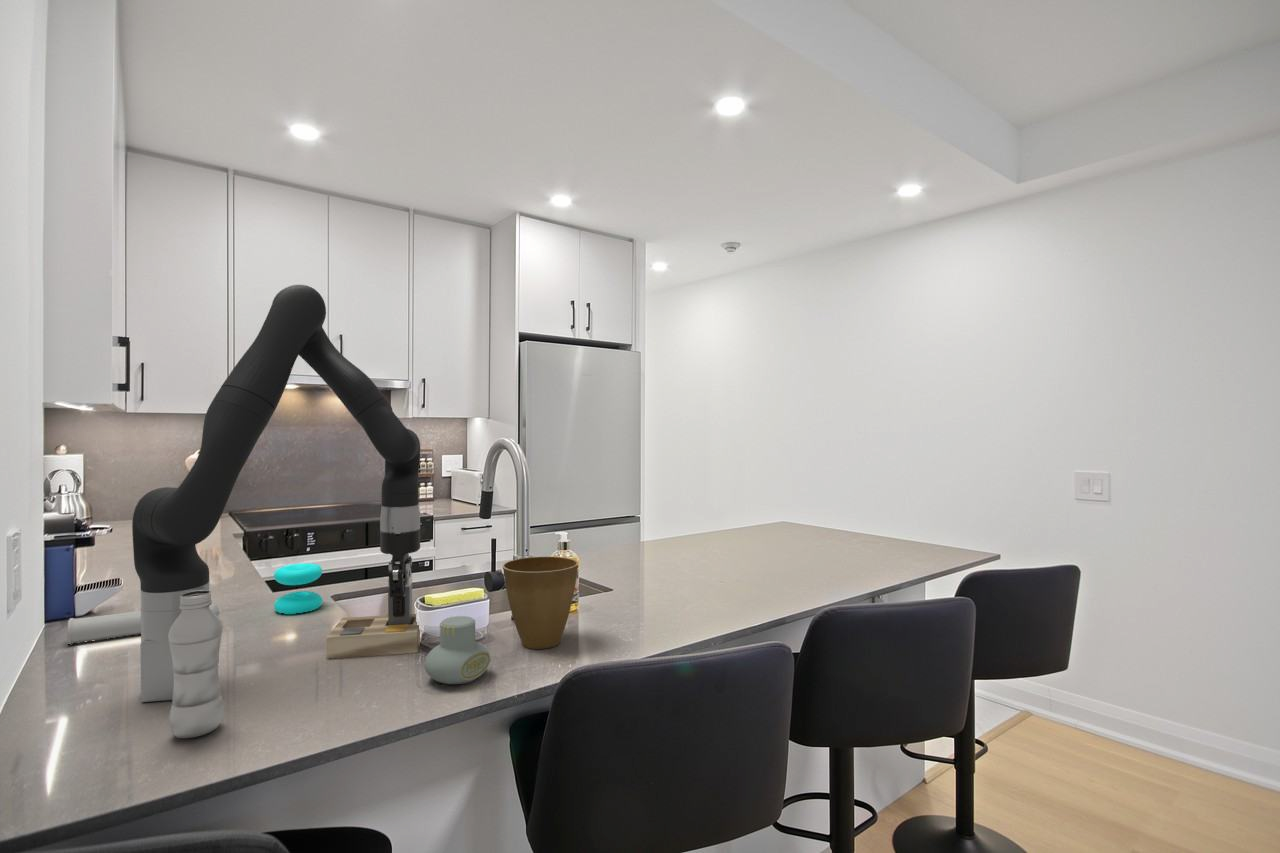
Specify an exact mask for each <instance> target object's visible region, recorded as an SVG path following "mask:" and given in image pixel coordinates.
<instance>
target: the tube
mask: <svg viewBox="0 0 1280 853" xmlns="http://www.w3.org/2000/svg"><path fill="white" fill-rule="evenodd" d="M210 609H211V610H212V611H213V612H214V613H215V614H216V615H217V617H218V618H219V615H220V610H219V607H218V604H217V603H213V602H212V604H211V605H210ZM138 634H141V610H138V611H128V612H123V613H122V612H121V613H113V614H112V613H111V614H106V615H105V614H104V615H96V616H95V615H94V616H87V617H80V618H73V617H70V618H69V619H68V621H67V628H66V643H67V645H68V644H72V643H78V642H85V641H92V640H100V639H107V638H114V637H121V638H123V637H122V636H127V637H130V636H129V635H134V636H139V635H138ZM114 639H115V638H114ZM107 640H108V639H107ZM100 641H101V640H100Z"/></svg>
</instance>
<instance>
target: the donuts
mask: <svg viewBox="0 0 1280 853" xmlns="http://www.w3.org/2000/svg"><path fill="white" fill-rule="evenodd" d="M322 574H323V568H322V567H321V566H320V565H319V564H317V563H311V562H310V563H308V562H307V563H306V562H303V563H292V564H287V565H284V566H281V567H278V568H277V569H276V570H275V572H274V573H273V578H274V580H275V581H276V582H277V583H278V584H281V585H285V586H299V585H305V584H310V583H312V582H315V581H316V580H318V579H319V578H320V577H321V576H322ZM322 604H323V597H322V596H321V595H320V594H319V593H317V592H314V591H307V590H304V591H302V590H301V591H294V592H290V593H285V594H283V595H282V596H279V598H277V599H276V601H274V604H273V608H274V610H275V612H277V613H278V612H279V613H278V614H281V613H284V614H283V615H297V614H296V613H301V614H304V613H303V612H306V613H309V612H308V611H310V612H313V611H315V610H317V609H319V608H320V607H321V606H322ZM312 610H313V611H312Z"/></svg>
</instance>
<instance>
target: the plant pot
mask: <svg viewBox="0 0 1280 853" xmlns="http://www.w3.org/2000/svg"><path fill="white" fill-rule="evenodd" d="M578 568H579V561H577V560H575V559H573V558H569V557H562V556H546V555H545V556H531V557H530V556H528V557H521V558H515V559H512V560H509V561H506V562H504V563H503V564H502V572H503V577H504V578H503V579H504V584H505V589H506V595H507V600H508V605H509V608H510V612H511V615H512V619H513V622H514V624H515V628H516V631H517V633H518V637H519V638H520V642H521V644H522V646H523V647H525V648H528V649H531V650H532V649H533V650H543V649H550V648H553V647H557V645H559V644H560V643H561V639H562V637H563V634H564V631H565V628H566V624H567V622H568V618H569V615H570V611H571V607H572V603H573V599H574V595H575V588H576V584H577V575H578Z"/></svg>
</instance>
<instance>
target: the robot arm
mask: <svg viewBox="0 0 1280 853" xmlns="http://www.w3.org/2000/svg"><path fill="white" fill-rule="evenodd" d="M326 306H327V305H326V303H325V300H324V298H323V296H322V295H321V294H320V293H319V291H318V290H317V289H315V288H313V287H312V286H309V285H306V284H292V285H289V286H287V287H284V288H283V289H281V290H280V291H278V293H276V294H275V296H274V298H273V300H272V303H271V306H270V308H269V310H268V313H267V315H266V317H265V320H264V321H263V324H262V326H261V328H260V330H259V332H258V334H257V336H256V337H255V339H254V341H253V342H252V344H251V345H250V346H249V348H248V349H247V350H246V351H245V353H243V355H242V356H241V358H240V359H239V360H238V362H237V363H236V364H235V366H234V368H233V369H232V370H231V372H230V373H229V374H228V376H227V377H226V379H225V380H224V382H223V383H222V384H221V386H220V388H219V389H218V391H217V392H216V394H215V396H214V397H213V399H212V401H211V403H210V404H209V406H208V408H207V410H206V413H205V417H204V420H203V426H202V436H201V445H200V449H199V452H198V455H197V457H196V460H195V462H194V463H193V465H192V467H191V469H190V470H189V471H188V473H187V475H186V476H185V477H184V479H183V481H182V482H181V483H180V484H179V486H178V487H172V486H171V487H169V486H168V487H158V488H156V489H153V490H150V491H149V492H147V493H145V494H144V495H143V496H142V497H140V499H139V500H138V502H137V504H136V506H135V507H134V510H133V515H132V522H131V523H132V548H133V562H134V563H133V564H134V569H135V572H136V574H137V577H138V578H139V583H140V611H141V635H140V702H141V703H147V702H160V701H162V702H163V701H173V688H174V671H173V661H172V655H171V650H170V645H169V638H168V634H169V631H170V628H171V626H172V625H173V623H174V622H175V620H176V619H177V618H178V616H179V615H180V614H181V613H182V610H181V609H180V608H179V605H180V597H181V594H183V593H186V592H190V591H197V590H210V568H209V565H208V564H207V563H206V562H205V561H204V560H203V559H202V558H201V557H200V555H199V553H198V551H197V549H196V545H198V544H199V543H201V542H203V541H204V540H206V539H207V538H208V537H209V536H210V535H211V534H212V533H213V532H214V530H215V528H216V527H217V525H218V523H219V522H220V520H221V518H222V515H223V513H224V510H225V508H226V505H227V504H228V501H229V498H230V495H231V494H232V491H233V488H234V487H235V484H236V482H237V480H238V477H239V476H240V473H241V471H242V469H243V467H244V466H245V465H246V463H247V461H248V459H249V457H250V456H251V454H252V451H253V449H254V447H255V445H256V444H257V442H258V440H259V438H260V437H261V435H262V433H263V432H264V430H265V428H266V427H267V425H268V424H269V422H270V420H271V418H272V417H273V414H274V413H275V411H276V409H277V407H278V406H279V403H280V400H281V398H282V396H283V393H284V391H285V389H286V387H287V384H288V383H289V378H290V376H291V373H292V370H293V368H294V365H295V362H296V360H297V358H298V357H300V358H302V360H303V361H304V362H305V363H306V364H307V365H308V366H309V367H311V368H312V370H313V371H315V372H316V374H317V375H318V376H319V377H320V378H321V379H322V380H323V382H325V383H326V385H327V386H328V387H329V388H330V389H331V390H332V392H333V393H334V394H335V395H336V397H337V398H338V400H340V402H341V403H342V404H343V406H344V407H345V408H346V410H347V411H348V412H349V414H350V415H351V416H352V417H353V419H355V421H356V422H357V423H358V424H359V425H360V426H361V427H362V429H363V430H364V432H365V434H366V435H367V437H368V439H369V440H370V442H371V444H372V445H373V447H374V448H375V449H376V450H377V452H378V453H379V455H380V456H381V457H382V458H383V459H384V477H383V480H382V484H381V508H380V509H381V511H380V518H379V520H380V521H379V524H380V525H379V527H380V529H379V530H380V531H379V532H380V534H379V535H380V536H379V538H380V540H379V541H380V542H379V543H380V544H379V545H380V546H379V547H380V548H379V550H380V552H381V553H382V554H385V555H390V556H391V557H392V558H391V560H390V562H388V572H387V575H388V579H389V588H390V597H392V598H393V616H394V617H402V616H404V615H405V596H406V593H405V586H406V585H407V584H408V578H409V575H411V574H412V565H413V558H412V556H411V555H409V554H412V553H416V552H418V551H419V550H420V549H421V514H420V513H421V512H420V505H419V502H420V498H419V495H420V494H419V493H420V492H419V490H420V488H419V472H420V462H421V442H420V439H419V438H420V437H418V435H417V433H415V432H414V431H413V429H412V430H411V429H409V428H407V427H406V426H405V425H404V424H403V423H402V421H401V419H400V418H398V416H397V415H396V414H395V412H394V411H393V406H392V405H391V404H390V402H389V400H388V399H387V398H386V396H384V394H383V392H382V391H381V390H380V388H378V386H377V385H376V384H375V383H374V381H373V380H372V379H371V378H370V377H369V376H368V375H367V374H366V373H365V372H364V371H363V370H362V369H360V368H359V367H358V366H356V365H355V364H353V362H351V361H349V360H348V359H347V358H346V357H345V356H344V355H343V354H342V353H341V352H340V351H339V349H337V348H336V346H335V345H334V344H333V343H332V342H331V340H330V338H329V336H328V335H327V333H326V331H325V330H324V328H323V325H324V322H325V321H326V317H327V316H326V315H327V307H326ZM404 578H405V580H404V581H403V579H404ZM396 587H399V588H400V591H395V588H396Z"/></svg>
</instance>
